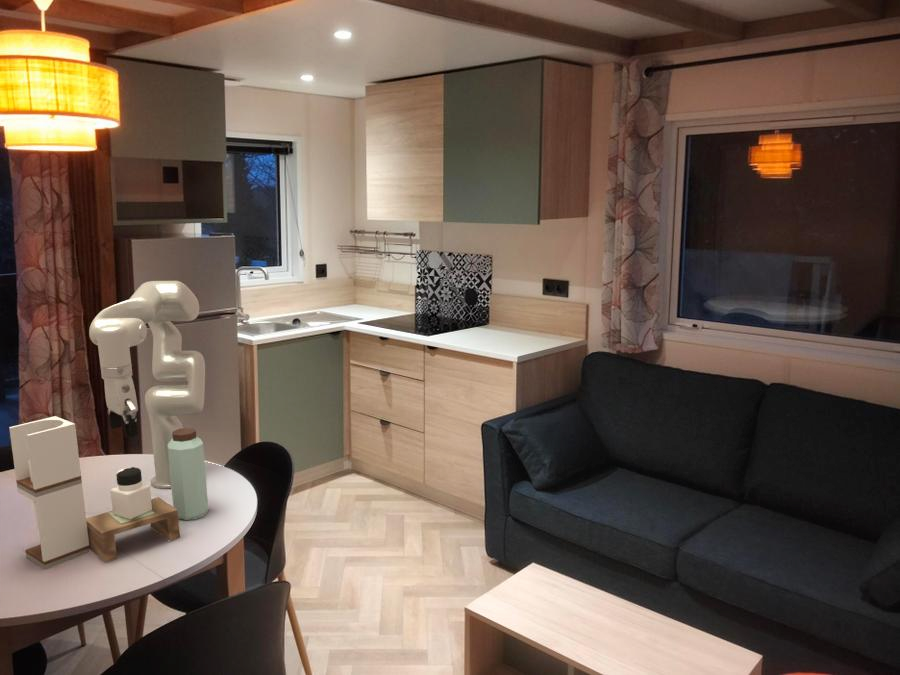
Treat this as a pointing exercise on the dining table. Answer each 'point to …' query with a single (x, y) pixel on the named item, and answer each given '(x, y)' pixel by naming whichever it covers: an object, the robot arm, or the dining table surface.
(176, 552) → the dining table surface
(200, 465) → the water bottle
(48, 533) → the white tower
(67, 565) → the dining table surface
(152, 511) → the bench shelf
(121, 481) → the medicine bottle
